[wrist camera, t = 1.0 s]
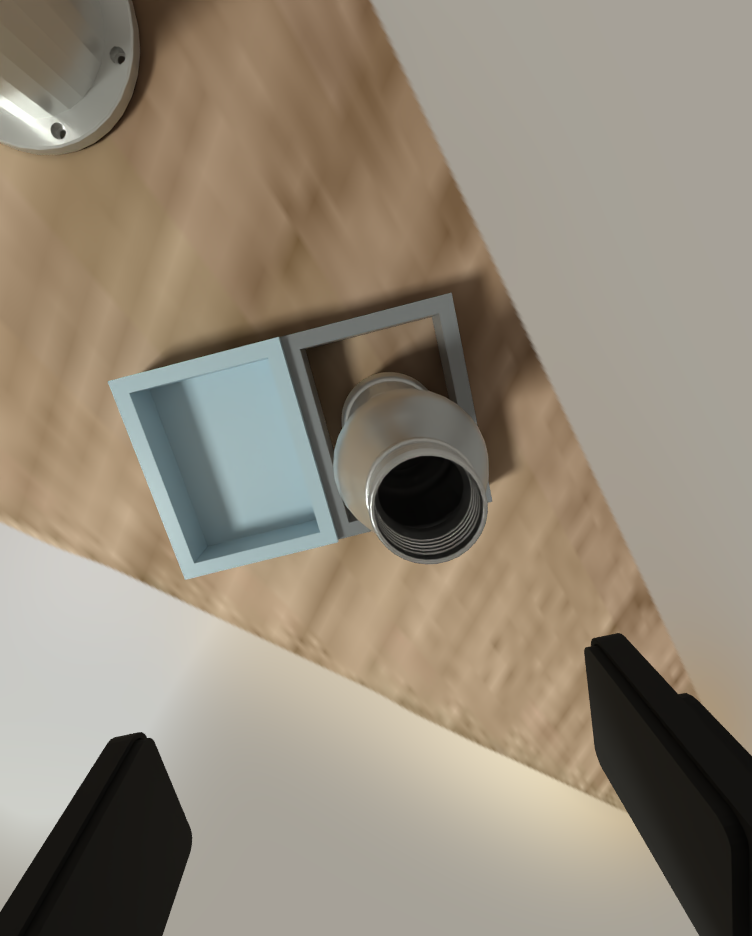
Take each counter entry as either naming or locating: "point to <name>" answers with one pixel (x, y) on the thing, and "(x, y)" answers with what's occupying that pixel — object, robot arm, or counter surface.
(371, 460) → the plastic bottle
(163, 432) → the bin
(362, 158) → the counter surface
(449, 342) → the bin
